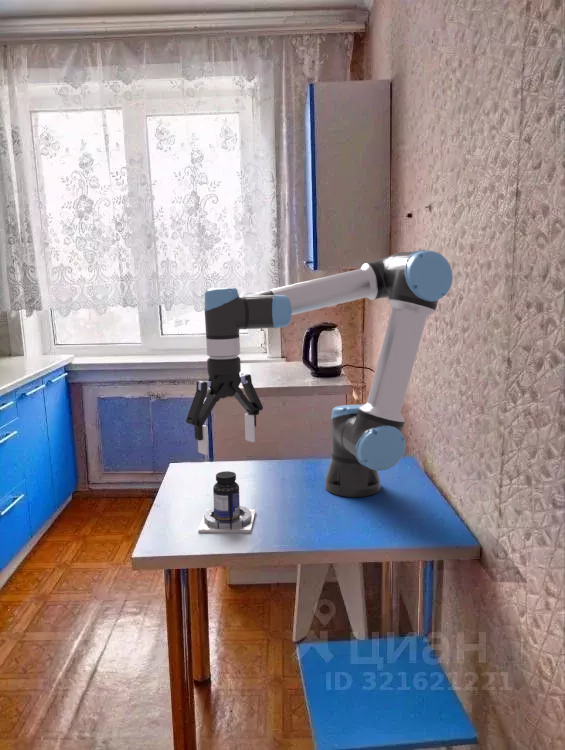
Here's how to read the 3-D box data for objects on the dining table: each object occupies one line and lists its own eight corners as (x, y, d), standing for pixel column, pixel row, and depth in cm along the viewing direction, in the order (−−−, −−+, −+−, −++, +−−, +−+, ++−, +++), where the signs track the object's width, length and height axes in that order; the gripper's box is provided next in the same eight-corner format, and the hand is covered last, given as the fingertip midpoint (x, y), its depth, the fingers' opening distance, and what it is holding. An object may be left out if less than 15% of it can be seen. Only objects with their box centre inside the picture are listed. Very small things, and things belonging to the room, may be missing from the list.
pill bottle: (233, 512, 145) (233, 468, 143) (244, 521, 140) (243, 476, 138) (210, 516, 142) (209, 472, 140) (219, 526, 137) (218, 480, 135)
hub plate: (255, 512, 147) (255, 504, 146) (250, 533, 135) (250, 524, 135) (207, 511, 147) (207, 504, 147) (198, 532, 136) (197, 524, 135)
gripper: (255, 349, 146) (258, 433, 149) (167, 361, 129) (172, 455, 133) (275, 352, 140) (278, 439, 144) (186, 364, 124) (191, 462, 127)
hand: (227, 447), depth 138 cm, fingers open, 13 cm apart
